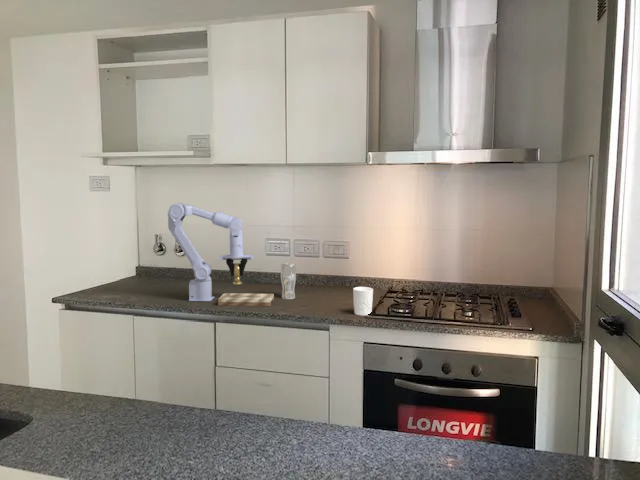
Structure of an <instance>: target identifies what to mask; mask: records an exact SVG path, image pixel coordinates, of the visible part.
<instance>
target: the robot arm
mask: <svg viewBox="0 0 640 480" xmlns="http://www.w3.org/2000/svg"><path fill="white" fill-rule="evenodd" d="M167 211H168V212H167V219H168V221H167V222H168V223H167V224H168V225H167V226H168V227H167V228H168V230H169V231H170V233H171V235H172V236H173V237H174V239H175V241H176V242H177V244H178V245H179V248H180V249H181V250H182V251H183V253H184V255H185V257H186V259H188V261H189V263H190V265H191V268H192V270H193V275H194V279H190V280H189V283H188V297H189V298H188V302H212V301H213V300H214V299H215V296H213V292H212V290H213V287H212V284H213V283H212V282H213V281H212V277H211V276H210V275H211V274H212V267H211V265H210V264H208V263H207V262H206V261H205V260H204V258H202V257H201V256H200V254H199V252H198V250H197V249H196V247H195V246H194V244H193V243H192V242H191V239H190V238H189V237H188V235H187V233H186V232H185V230H184V229H183V227H182V225H183V221H184V219H185V217H188V216H196V217H200V218H203V219H205V220H209V221H211V222H212V224H213V225H215V226H218V227H221V228H223V229H229V254H222V255H221V254H220V255H219V261H225V263H226V265H227V268H228V269H229V272H230V276H231V278H232V277H233V263H234V261H240V262H239V263H241V277H244V273H245V268H246V265H247V263H248V260H249V261H253V260H254V254H244V239H243V238H244V237H243V226H244V224H243V221H242V219H240V218H239V217H236V216H235V217H234V215H229V214H225V213H224V212H223V211H216V212H211V211H209V210H206V209H202V208H200V207H197V206H194V205H191V204H188V203H186V204H185V203H184V202H178V203H173V204H172V205H170V207H169V209H168V210H167Z"/></svg>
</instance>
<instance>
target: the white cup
mask: <svg viewBox="0 0 640 480" xmlns="http://www.w3.org/2000/svg"><path fill="white" fill-rule="evenodd" d="M352 291H353V292H352V295H353V296H352V297H353V298H352V299H353V311H354V312H353V313H354V315H356V316H365V317H366V316H369V315H368V314H370V313H371V312H372V311H373V299H374V296H373V295H374V288H372V287H368V286H356V287H353V289H352ZM372 313H373V312H372Z"/></svg>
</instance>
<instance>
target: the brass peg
mask: <svg viewBox="0 0 640 480" xmlns="http://www.w3.org/2000/svg"><path fill="white" fill-rule="evenodd" d="M233 277H234V281H232V285H233V286H234V285H237V286H238V285H243V282H242V281H241V277H242V276H241V263H240V262H236V263H234V262H233Z"/></svg>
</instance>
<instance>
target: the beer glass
mask: <svg viewBox="0 0 640 480" xmlns="http://www.w3.org/2000/svg"><path fill="white" fill-rule="evenodd" d="M280 281H281V287H282V292H281V299H283V300H293V299H296V294H295V286H296V281H297V264H296V263H295V264H294V263H282V264H280Z"/></svg>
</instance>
